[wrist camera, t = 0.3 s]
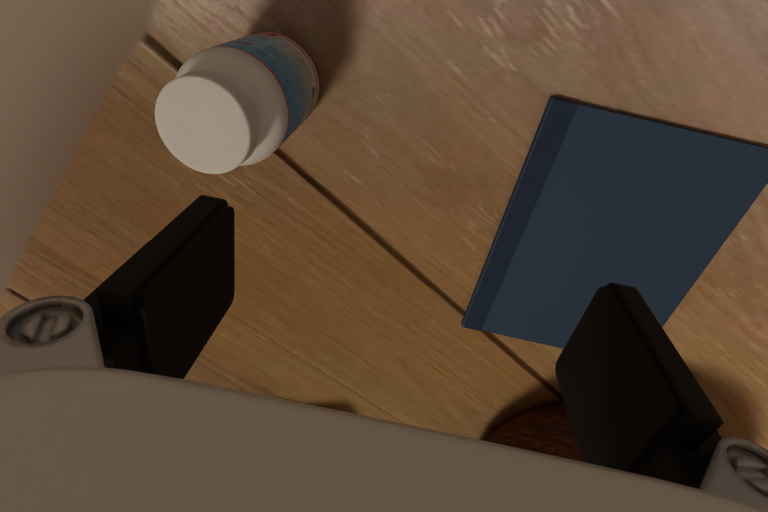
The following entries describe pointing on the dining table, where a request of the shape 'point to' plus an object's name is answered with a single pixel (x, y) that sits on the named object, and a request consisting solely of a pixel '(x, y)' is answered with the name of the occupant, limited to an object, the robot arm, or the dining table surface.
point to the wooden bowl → (540, 432)
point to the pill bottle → (236, 102)
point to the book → (610, 219)
